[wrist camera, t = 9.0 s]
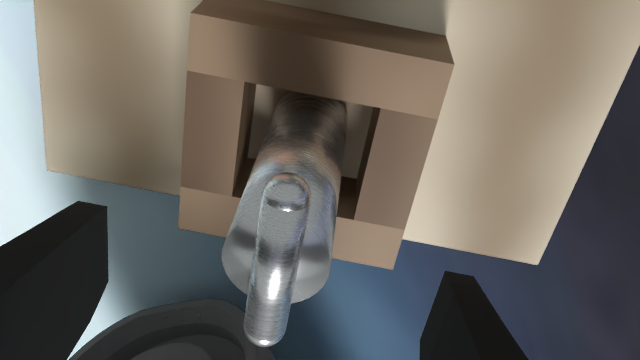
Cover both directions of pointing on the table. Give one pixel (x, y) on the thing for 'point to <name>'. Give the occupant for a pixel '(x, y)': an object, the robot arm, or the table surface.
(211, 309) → the bluetooth speaker
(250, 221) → the key peg
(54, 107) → the board
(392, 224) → the socket block
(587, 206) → the table surface
